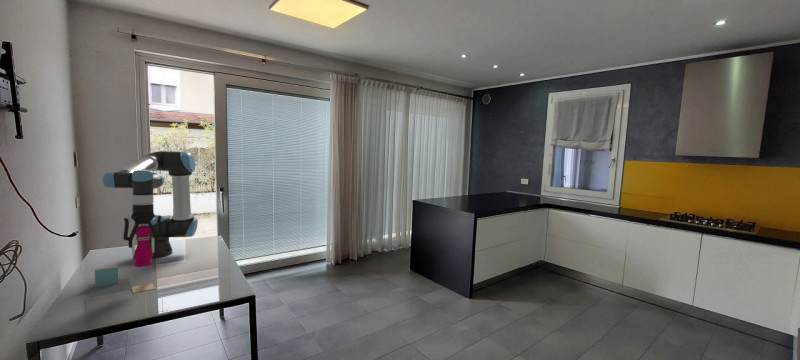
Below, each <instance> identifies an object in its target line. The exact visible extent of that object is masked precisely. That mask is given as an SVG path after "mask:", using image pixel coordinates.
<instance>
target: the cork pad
mask: <svg viewBox="0 0 800 360" xmlns="http://www.w3.org/2000/svg"><path fill="white" fill-rule="evenodd" d="M131 288H132V289H131V292H132V294H138V293H143V292H147V291H148V292H149V291H151V290H156V287H155V285H154V282H151V283H146V284H142V285H141V284H140V285H134V286H131Z"/></svg>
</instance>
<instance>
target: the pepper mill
mask: <svg viewBox="0 0 800 360" xmlns="http://www.w3.org/2000/svg"><path fill="white" fill-rule="evenodd" d="M150 233H151V229H150V227H149V226H146V224H140V225H139V226H138V228H137V230H136V233H135V236H136V237H135V240H136V241H137V245H136V248H135V255H132V259H133V260H134V267H135V268H143V267H149V266H150V265H152V263H153V261H152V257H153V253H152V250H151V248H150V246H149V239H150V236H149V234H150Z"/></svg>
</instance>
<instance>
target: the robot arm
mask: <svg viewBox="0 0 800 360" xmlns="http://www.w3.org/2000/svg"><path fill="white" fill-rule="evenodd" d="M156 171H160V172H168V175H169V177H171V181H172V196H173V197H172V198H173V213H174V214H173V215H172V216H171V218H170V216H169V215H160V214H158V215H157V214H155V213H154V189H158V188H160V187H162V186H163V185H164V183H165V178H164V176H163V175H162V174H160V173H158V172H156ZM195 171H196V162H195V157H194V156H193V154H192V153H191V152H185V151H170V150H169V151H165V150H160V151H159V150H158V151H154V152H150V153H147V154H144V155H142V156H141V157H139V158H138V160H137V161H136V162H133V163H132V164H130V165H128V166H126V167H124V168H122V169H121V170H118V171H107V172H105V173H104V174H103V176H102V184H103V186H104V187H105V188H108V189H132V214H131V215H130V216H128V217H126V216H125V217H123V221H124V227H123V228H124V229H123V238H122V239H123V240H124V241H127V242H128V248H130V249H131V255H132V256H133V255H135V250H136V248H135V246H136V245H135V239H134V237H135V236H136V234H135V233H136V230H137V228H138V227H139V226H140V225H141V224H146V225H145V226H149V227H150V229H151V233H150V234H149V236H150V239H149V246H150V248H151V250H152V253H153V257H152V258H153V259H157V258H162V257H167V256H169V255H172V254H173V247H172V244H171V243H170V238H190V237H191V238H192V237H194V236H195V234H196V231H197V228H198V218H197V217H195V214H193V213H192V208H191V205H192V204H191V189H190V177H191V175H192V174H193V172H195ZM131 220H133V222H134V224H133V227H132V229H131V232H130V234H129V228H130V227H129V226H130V222H132V221H131ZM128 235H129V236H128ZM152 258H151V259H152Z"/></svg>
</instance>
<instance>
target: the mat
mask: <svg viewBox="0 0 800 360" xmlns="http://www.w3.org/2000/svg"><path fill="white" fill-rule="evenodd" d="M131 287H132V286H131V283H130V280H129V277H127V278H121V279H118V283H116V284H110V285H105V286H99V287H95V283H92V284H88V292H89V293H88V296H89V298H93V297H99V296H104V295H108V294H114V293H120V292H124V291H128V290H132V288H131Z"/></svg>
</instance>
